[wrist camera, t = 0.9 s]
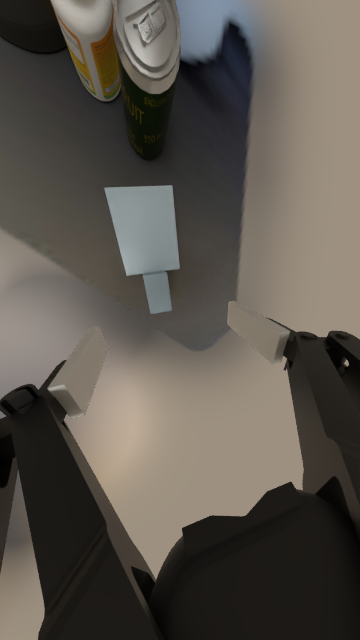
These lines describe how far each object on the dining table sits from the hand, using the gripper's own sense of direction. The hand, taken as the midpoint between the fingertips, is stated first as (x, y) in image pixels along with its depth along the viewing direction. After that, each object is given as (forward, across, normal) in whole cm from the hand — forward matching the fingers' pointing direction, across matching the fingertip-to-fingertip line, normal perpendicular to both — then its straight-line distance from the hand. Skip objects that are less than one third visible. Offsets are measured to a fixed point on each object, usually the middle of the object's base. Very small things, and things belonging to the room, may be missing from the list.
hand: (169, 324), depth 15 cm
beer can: (+19, +2, +22) cm, 29 cm away
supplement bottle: (+19, -2, +28) cm, 34 cm away
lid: (+12, 0, +6) cm, 14 cm away
